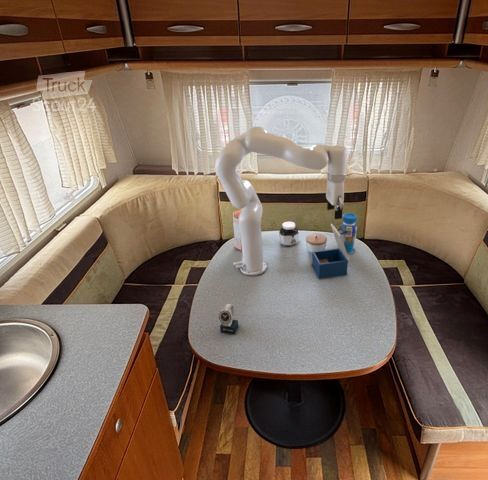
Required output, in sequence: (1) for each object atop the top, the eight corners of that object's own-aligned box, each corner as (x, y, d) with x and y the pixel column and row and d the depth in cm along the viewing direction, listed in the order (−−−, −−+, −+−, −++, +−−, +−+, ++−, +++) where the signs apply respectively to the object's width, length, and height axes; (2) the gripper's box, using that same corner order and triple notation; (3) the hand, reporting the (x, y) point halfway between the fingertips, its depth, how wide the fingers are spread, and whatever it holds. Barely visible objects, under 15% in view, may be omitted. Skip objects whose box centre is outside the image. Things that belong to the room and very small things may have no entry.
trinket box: (326, 256, 181) (327, 240, 176) (305, 256, 181) (306, 240, 177) (325, 246, 190) (326, 230, 186) (305, 245, 190) (305, 230, 186)
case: (319, 278, 164) (319, 264, 161) (311, 265, 174) (312, 251, 170) (346, 274, 167) (348, 260, 163) (338, 261, 177) (339, 248, 173)
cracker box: (242, 251, 186) (239, 215, 175) (234, 247, 189) (231, 211, 179) (261, 241, 194) (260, 206, 184) (254, 238, 198) (252, 203, 188)
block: (320, 272, 167) (320, 264, 165) (317, 267, 171) (317, 259, 169) (329, 271, 168) (329, 263, 166) (326, 266, 172) (326, 258, 170)
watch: (219, 335, 133) (215, 313, 128) (226, 321, 140) (223, 299, 135) (233, 338, 132) (230, 315, 127) (240, 323, 139) (238, 301, 134)
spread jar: (282, 248, 188) (281, 229, 182) (275, 238, 198) (275, 219, 192) (303, 244, 192) (303, 225, 186) (296, 235, 201) (296, 216, 195)
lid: (339, 235, 155) (348, 231, 155) (330, 224, 165) (339, 220, 165) (347, 260, 163) (356, 256, 163) (338, 247, 173) (347, 243, 173)
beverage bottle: (335, 250, 187) (337, 215, 177) (345, 244, 192) (348, 210, 182) (347, 256, 181) (351, 221, 171) (358, 250, 186) (362, 215, 176)
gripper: (321, 170, 154) (320, 206, 163) (334, 184, 140) (332, 223, 148) (337, 169, 156) (335, 205, 164) (352, 182, 141) (349, 221, 150)
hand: (334, 213), depth 156 cm, fingers open, 9 cm apart
